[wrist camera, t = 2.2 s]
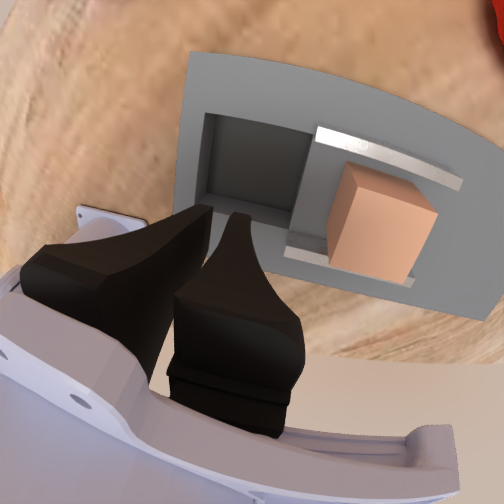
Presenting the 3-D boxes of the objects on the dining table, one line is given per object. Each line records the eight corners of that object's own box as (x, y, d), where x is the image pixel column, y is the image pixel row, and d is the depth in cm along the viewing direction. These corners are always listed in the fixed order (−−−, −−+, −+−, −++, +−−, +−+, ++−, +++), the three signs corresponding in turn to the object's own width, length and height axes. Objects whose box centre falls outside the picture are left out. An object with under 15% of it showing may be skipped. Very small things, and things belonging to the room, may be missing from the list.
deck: (473, 300, 23) (484, 321, 21) (185, 228, 25) (171, 247, 22) (538, 176, 15) (557, 190, 13) (205, 54, 17) (190, 51, 14)
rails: (404, 270, 20) (410, 287, 18) (285, 240, 20) (283, 256, 18) (449, 168, 15) (463, 179, 13) (316, 121, 15) (318, 126, 14)
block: (387, 242, 19) (402, 283, 15) (325, 225, 19) (328, 265, 15) (412, 182, 16) (438, 213, 12) (346, 160, 16) (358, 186, 13)
